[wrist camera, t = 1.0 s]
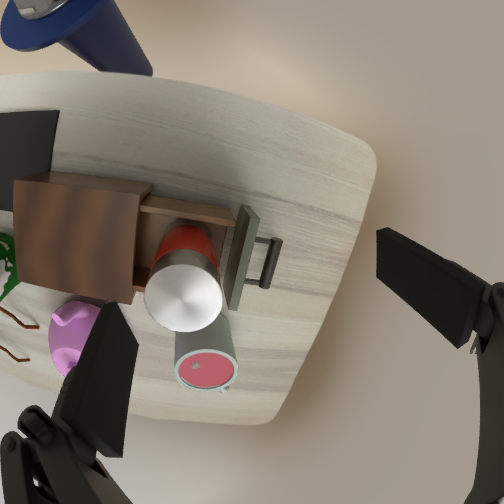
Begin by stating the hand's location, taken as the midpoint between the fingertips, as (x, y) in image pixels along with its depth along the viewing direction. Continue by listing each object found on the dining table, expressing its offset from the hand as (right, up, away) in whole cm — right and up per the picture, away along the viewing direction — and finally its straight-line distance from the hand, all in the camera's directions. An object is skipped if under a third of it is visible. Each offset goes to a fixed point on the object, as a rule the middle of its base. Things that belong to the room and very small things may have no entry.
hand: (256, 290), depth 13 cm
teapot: (-28, -10, +28) cm, 41 cm away
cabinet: (-24, +6, +22) cm, 33 cm away
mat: (-39, +16, +15) cm, 45 cm away
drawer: (-8, +3, +26) cm, 27 cm away
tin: (-9, +3, +24) cm, 26 cm away
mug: (-8, -14, +34) cm, 37 cm away
